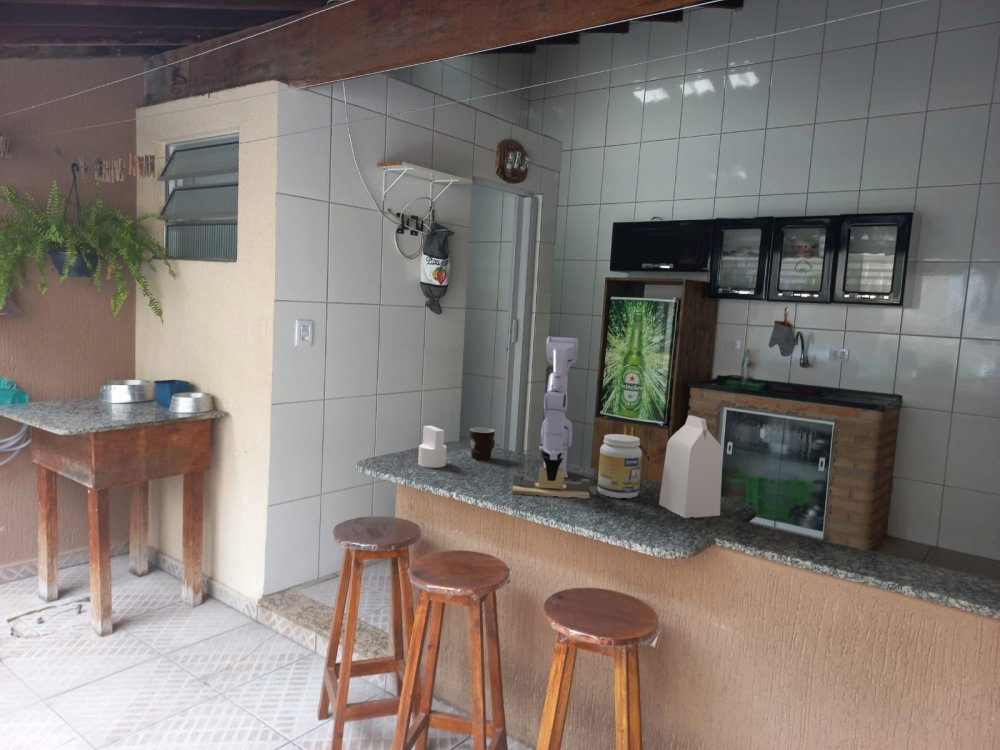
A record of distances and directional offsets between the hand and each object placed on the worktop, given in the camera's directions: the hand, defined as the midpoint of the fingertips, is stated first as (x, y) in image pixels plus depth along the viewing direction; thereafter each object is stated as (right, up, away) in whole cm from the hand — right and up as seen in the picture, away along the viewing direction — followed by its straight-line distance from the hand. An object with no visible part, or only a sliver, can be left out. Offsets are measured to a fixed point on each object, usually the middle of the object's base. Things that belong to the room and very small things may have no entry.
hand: (551, 478), depth 203 cm
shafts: (0, -3, +1) cm, 3 cm away
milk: (+37, -7, -11) cm, 40 cm away
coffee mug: (-21, +1, +35) cm, 41 cm away
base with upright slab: (-37, +1, +26) cm, 45 cm away
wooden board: (0, -4, 0) cm, 4 cm away
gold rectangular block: (0, -2, 0) cm, 2 cm away
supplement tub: (+20, -5, +2) cm, 21 cm away
